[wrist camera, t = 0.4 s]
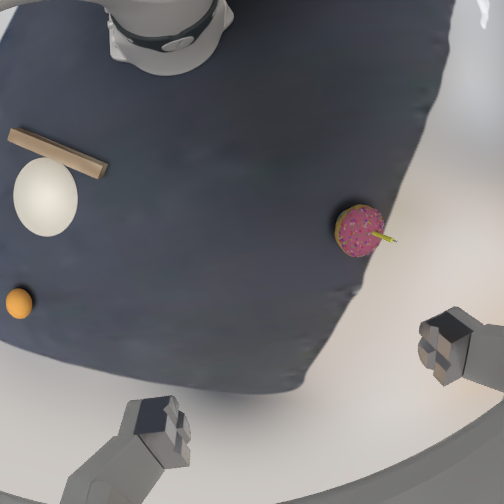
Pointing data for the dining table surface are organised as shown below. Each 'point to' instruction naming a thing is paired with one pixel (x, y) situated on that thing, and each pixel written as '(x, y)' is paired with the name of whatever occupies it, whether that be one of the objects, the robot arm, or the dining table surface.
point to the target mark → (45, 197)
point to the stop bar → (58, 152)
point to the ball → (19, 303)
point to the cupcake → (360, 230)
